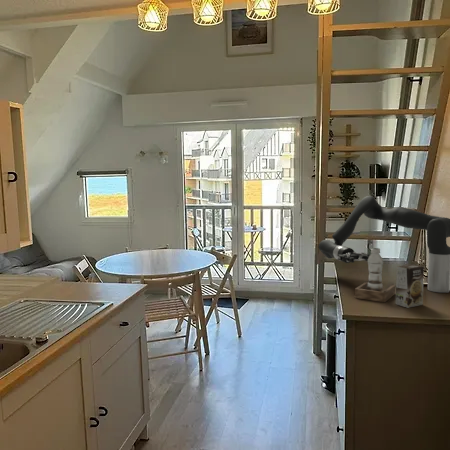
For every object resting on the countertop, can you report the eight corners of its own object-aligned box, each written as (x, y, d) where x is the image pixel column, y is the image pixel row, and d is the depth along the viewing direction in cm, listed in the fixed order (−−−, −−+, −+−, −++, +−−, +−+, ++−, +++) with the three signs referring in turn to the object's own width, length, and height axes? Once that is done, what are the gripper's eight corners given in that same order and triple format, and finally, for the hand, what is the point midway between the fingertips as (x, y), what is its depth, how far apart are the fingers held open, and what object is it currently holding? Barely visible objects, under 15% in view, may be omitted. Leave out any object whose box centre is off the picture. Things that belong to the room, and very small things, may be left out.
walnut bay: (394, 294, 194) (395, 285, 193) (385, 302, 182) (385, 293, 181) (365, 290, 201) (365, 281, 201) (354, 297, 189) (354, 288, 189)
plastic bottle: (374, 296, 187) (375, 250, 185) (363, 292, 194) (364, 248, 192) (386, 294, 190) (387, 249, 188) (375, 290, 196) (375, 247, 194)
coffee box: (408, 308, 173) (409, 268, 172) (395, 304, 179) (396, 265, 177) (423, 304, 177) (424, 266, 176) (410, 301, 183) (411, 263, 181)
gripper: (330, 247, 214) (348, 252, 199) (356, 245, 218) (375, 250, 202) (330, 262, 215) (348, 268, 200) (356, 260, 219) (375, 266, 203)
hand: (361, 259), depth 201 cm, fingers open, 8 cm apart
